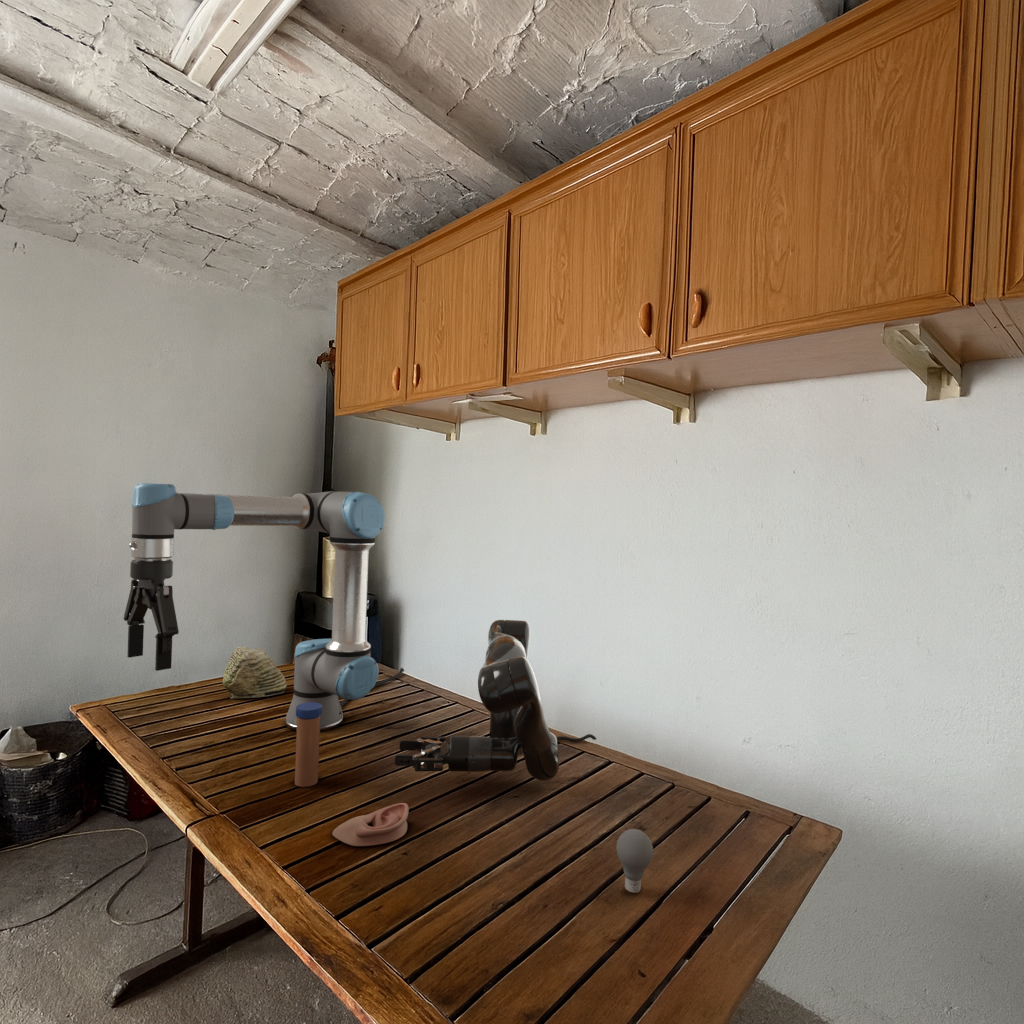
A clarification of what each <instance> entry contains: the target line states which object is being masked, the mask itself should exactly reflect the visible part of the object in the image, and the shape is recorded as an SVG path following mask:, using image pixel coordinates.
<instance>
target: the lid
mask: <svg viewBox="0 0 1024 1024" xmlns="http://www.w3.org/2000/svg"><path fill="white" fill-rule="evenodd" d="M321 714H322V705H321V704H319V703H303V704H299V705H298V706H297V707H296V716H297V717H298V718H301V719H312V718H316V717H319V716H321Z"/></svg>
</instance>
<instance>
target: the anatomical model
mask: <svg viewBox="0 0 1024 1024" xmlns="http://www.w3.org/2000/svg"><path fill="white" fill-rule="evenodd" d="M409 810H410V809H409V805H408V803H406V802H399V803H395V804H391V805H387V806H384V807H382V808H380V809H377V810H375V811H373V812H370V813H368V814H365V815H359V816H355V817H352V818H350V819H347V820H346V821H343V822H342V823H340V824H339V825H338V826H336V828H334V829H333V830H332V836H333V837H334V838H335V839H336V840H338V841H341V842H342V843H344V844H346V845H349V846H352V847H369V846H379V845H383V844H387V843H391V842H394V841H396V840H399V839H400V838H402V837H404V835H406V833H407V831H408V822H407V820H408V817H409Z"/></svg>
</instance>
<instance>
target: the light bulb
mask: <svg viewBox="0 0 1024 1024" xmlns="http://www.w3.org/2000/svg"><path fill="white" fill-rule="evenodd" d="M615 849H616V854H617V857H618V859H619V861H620V863H621V865H622V867H623V873H624V874H623V875H624V876H625V878H624V888H625V890H627V891H628V892H630V893H634V894H635V893H639V892H640V891H641V889H642V887H641V886H642V879H643V877H644V875H645V871H646V868H647V867H648V866H649V864H650V863H651V861H652V859H653V855H654V847H653V843H652V841H651V838H649V836H648V835H647V834H646V833H645V832H643V831H642V830H641V829H636V828H629V829H627V830H625V831H623V832H622V833H621V834H620V835H619V837H618V839H617V841H616V847H615Z"/></svg>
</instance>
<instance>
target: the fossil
mask: <svg viewBox="0 0 1024 1024" xmlns="http://www.w3.org/2000/svg"><path fill="white" fill-rule="evenodd" d="M222 676H223V677H222V685H223V687H224V688H225V690H226V691H228V693H229V698H230V699H250V698H264V697H271V696H275V695H281V694H284V693H285V691H286V689H287V687H288V686H287V680H286V678H285V676H284V674H283V673H282V672H281V669H279V668H278V667H277V665H276V663H275V662H274V660H273V659H272V658H271V657H270V656H269V655H268V654H267V653H266V652H265V650H264V649H263V648H260V647H258V648H251V647H247V646H246V647H245V646H238V647H237V648H236V649H235V650H233V651H232V653H231V656H230V657H229V659H228V660H227V663H226V666H225V668H224V671H223V675H222Z"/></svg>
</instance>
